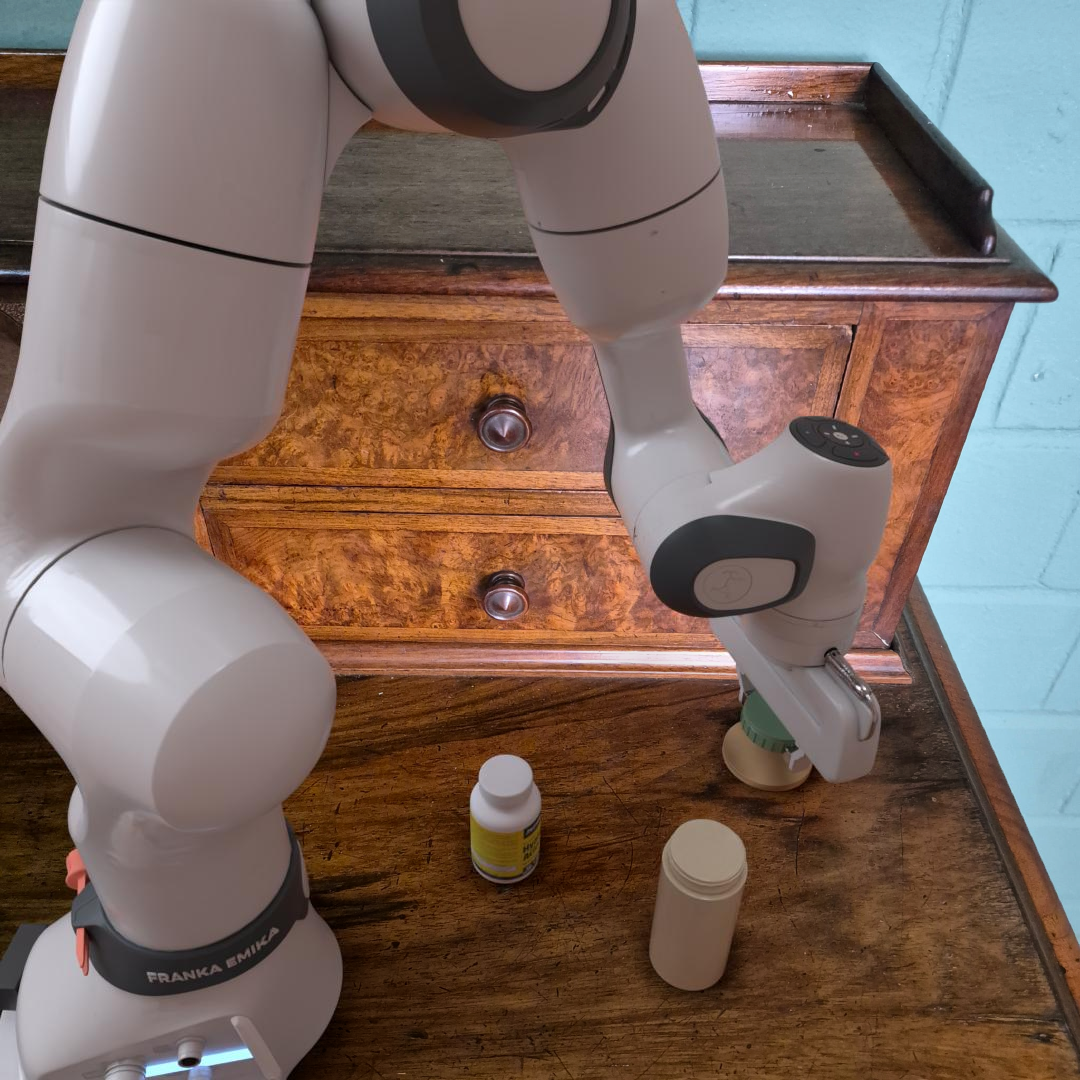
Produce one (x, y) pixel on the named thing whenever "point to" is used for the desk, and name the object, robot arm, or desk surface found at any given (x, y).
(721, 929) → the jar
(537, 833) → the supplement bottle
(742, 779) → the coaster
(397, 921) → the desk surface
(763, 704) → the jar lid
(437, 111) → the robot arm
